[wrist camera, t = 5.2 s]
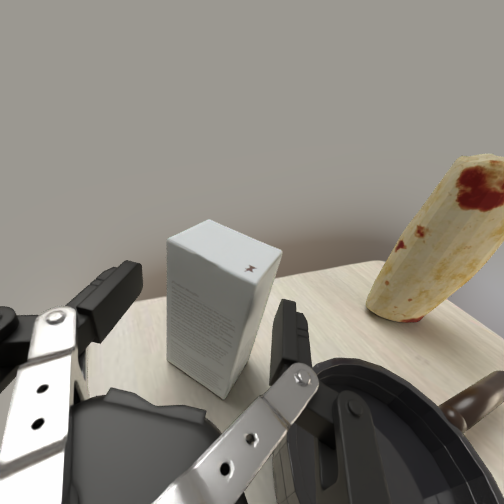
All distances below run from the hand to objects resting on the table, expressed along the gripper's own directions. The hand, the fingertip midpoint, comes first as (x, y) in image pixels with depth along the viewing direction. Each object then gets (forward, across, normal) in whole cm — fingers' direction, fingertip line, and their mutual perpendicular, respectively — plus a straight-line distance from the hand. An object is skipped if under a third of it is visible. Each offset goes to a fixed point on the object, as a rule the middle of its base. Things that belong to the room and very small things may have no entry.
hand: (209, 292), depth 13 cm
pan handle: (+2, -23, +8) cm, 24 cm away
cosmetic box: (+2, 0, +10) cm, 10 cm away
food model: (+15, -22, +10) cm, 28 cm away
